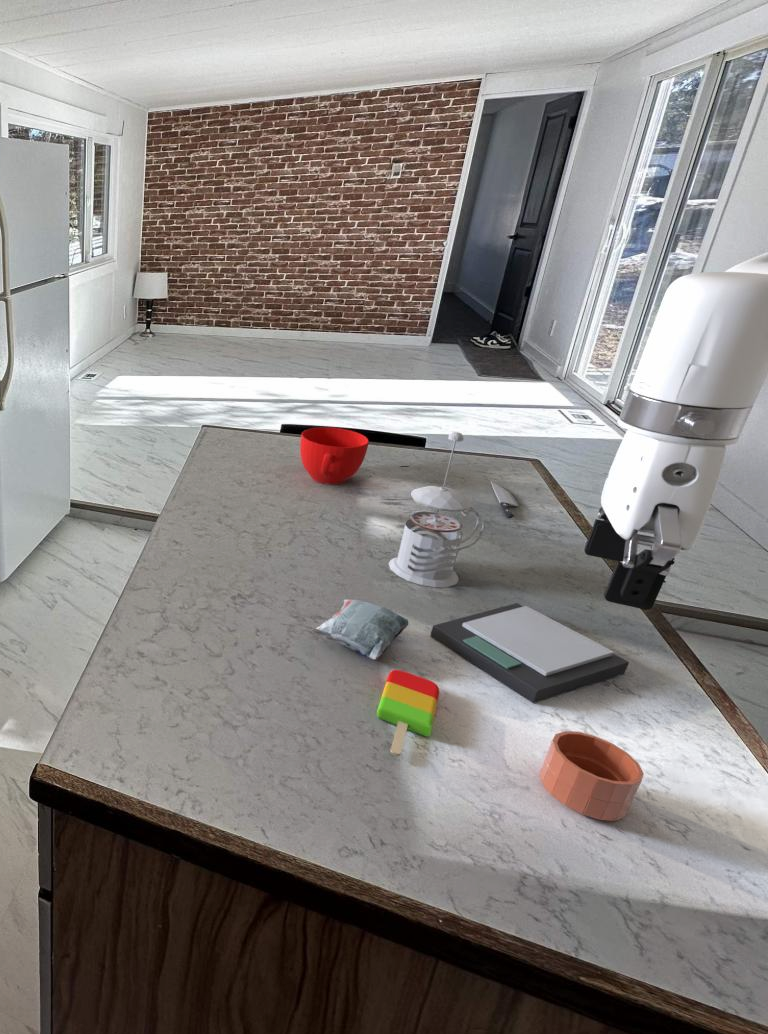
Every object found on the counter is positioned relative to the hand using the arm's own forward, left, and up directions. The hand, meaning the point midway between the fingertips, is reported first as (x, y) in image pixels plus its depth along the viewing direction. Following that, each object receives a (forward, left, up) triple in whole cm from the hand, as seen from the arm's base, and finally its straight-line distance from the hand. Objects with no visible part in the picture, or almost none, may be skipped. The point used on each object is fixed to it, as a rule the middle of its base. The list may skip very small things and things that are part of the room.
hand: (614, 579), depth 63 cm
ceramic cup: (-34, -68, -24) cm, 80 cm away
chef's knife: (-59, -48, -24) cm, 79 cm away
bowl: (+2, +5, -24) cm, 24 cm away
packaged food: (+3, -23, -24) cm, 34 cm away
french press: (-22, -33, -24) cm, 47 cm away
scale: (-15, -13, -24) cm, 31 cm away
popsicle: (+10, -9, -24) cm, 28 cm away
